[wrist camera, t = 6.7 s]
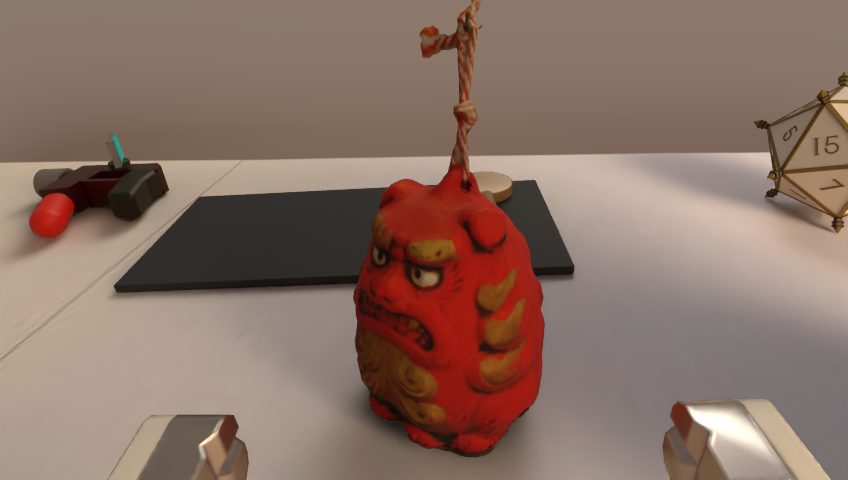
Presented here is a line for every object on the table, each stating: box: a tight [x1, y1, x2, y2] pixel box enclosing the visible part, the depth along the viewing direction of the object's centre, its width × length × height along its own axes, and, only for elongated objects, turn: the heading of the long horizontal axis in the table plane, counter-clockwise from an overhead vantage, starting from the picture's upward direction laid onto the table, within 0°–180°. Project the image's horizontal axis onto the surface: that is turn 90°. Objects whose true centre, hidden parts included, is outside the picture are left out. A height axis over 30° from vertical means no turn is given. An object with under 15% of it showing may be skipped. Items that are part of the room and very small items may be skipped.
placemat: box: [114, 180, 574, 292], centre depth 33 cm, size 26×12×1 cm, turn 89°
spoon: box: [473, 172, 513, 206], centre depth 32 cm, size 12×4×1 cm, turn 179°
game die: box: [754, 72, 848, 233], centre depth 30 cm, size 9×8×10 cm
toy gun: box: [29, 133, 169, 237], centre depth 37 cm, size 10×12×5 cm
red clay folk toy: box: [353, 0, 545, 457], centre depth 17 cm, size 8×7×15 cm
